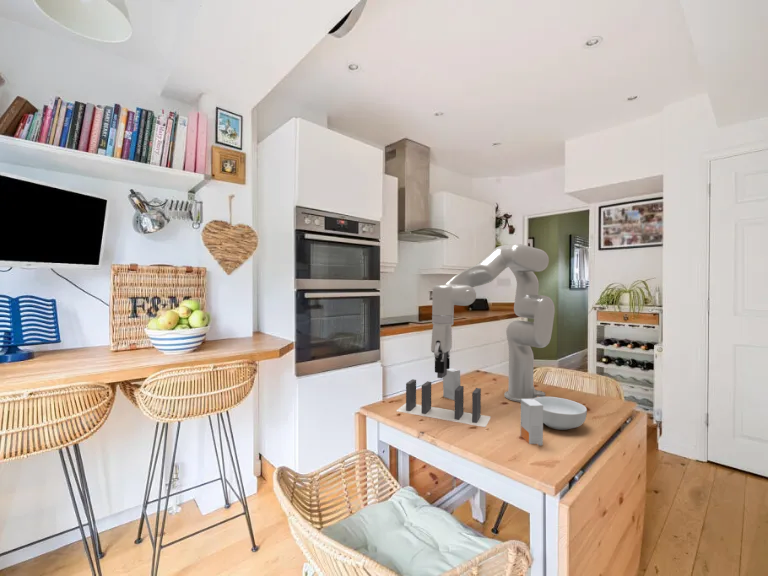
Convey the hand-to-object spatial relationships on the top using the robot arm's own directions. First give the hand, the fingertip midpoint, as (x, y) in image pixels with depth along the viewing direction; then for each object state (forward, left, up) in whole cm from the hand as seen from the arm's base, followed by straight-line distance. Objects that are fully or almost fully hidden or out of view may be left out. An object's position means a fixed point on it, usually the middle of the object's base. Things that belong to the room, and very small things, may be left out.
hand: (442, 370), depth 128 cm
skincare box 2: (-30, +8, -16) cm, 35 cm away
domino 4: (-6, 0, -16) cm, 17 cm away
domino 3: (0, 0, -2) cm, 2 cm away
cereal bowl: (-37, -9, -17) cm, 42 cm away
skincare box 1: (+2, -19, -16) cm, 25 cm away
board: (0, 0, -16) cm, 16 cm away
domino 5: (-12, 0, -16) cm, 20 cm away
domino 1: (+12, 0, -16) cm, 20 cm away
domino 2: (+6, 0, -16) cm, 17 cm away
